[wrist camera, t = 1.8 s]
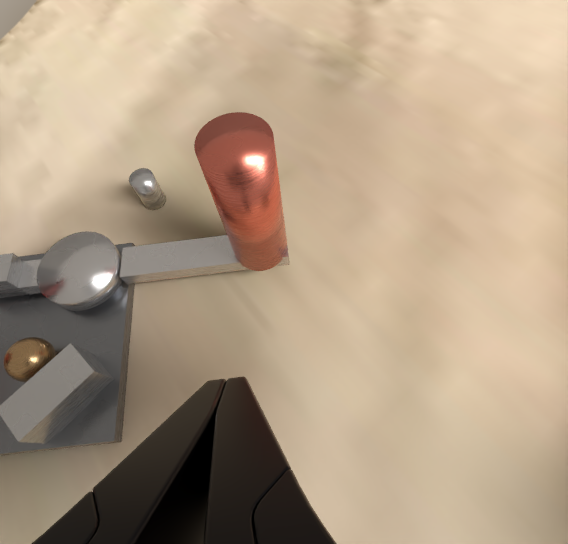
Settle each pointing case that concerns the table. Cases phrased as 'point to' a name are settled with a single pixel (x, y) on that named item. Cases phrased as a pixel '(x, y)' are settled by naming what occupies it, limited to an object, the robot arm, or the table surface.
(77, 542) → the robot arm
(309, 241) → the table surface
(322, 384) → the table surface
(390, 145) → the table surface
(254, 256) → the lever
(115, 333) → the base
